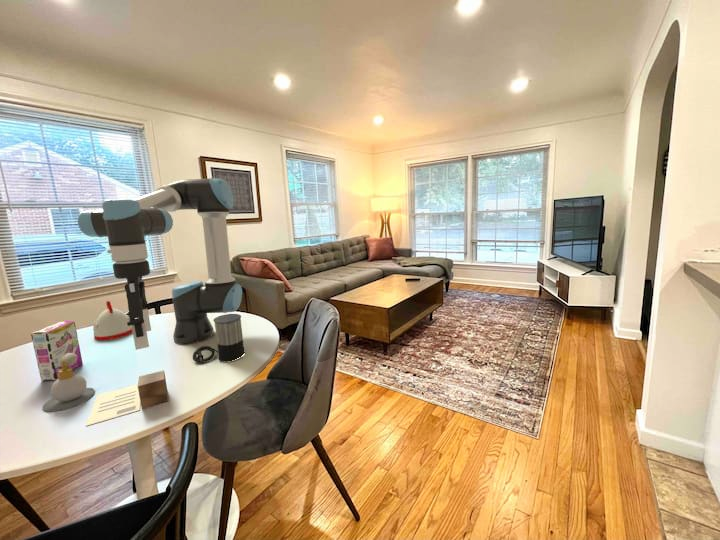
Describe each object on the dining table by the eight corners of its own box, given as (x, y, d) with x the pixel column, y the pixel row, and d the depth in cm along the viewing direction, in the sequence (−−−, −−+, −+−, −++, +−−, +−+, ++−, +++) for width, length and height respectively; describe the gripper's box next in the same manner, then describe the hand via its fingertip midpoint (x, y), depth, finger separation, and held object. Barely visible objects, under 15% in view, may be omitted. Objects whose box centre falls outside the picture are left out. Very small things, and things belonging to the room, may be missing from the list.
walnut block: (167, 392, 91) (164, 370, 90) (168, 402, 86) (164, 379, 85) (143, 399, 88) (138, 376, 87) (142, 410, 83) (137, 386, 82)
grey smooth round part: (98, 384, 96) (97, 383, 96) (90, 402, 87) (90, 401, 87) (49, 396, 91) (49, 395, 91) (36, 417, 82) (36, 415, 82)
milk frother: (250, 355, 113) (246, 316, 110) (204, 373, 102) (198, 330, 99) (232, 345, 123) (228, 309, 120) (189, 359, 111) (183, 320, 109)
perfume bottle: (56, 410, 84) (46, 368, 81) (49, 397, 90) (40, 359, 87) (91, 396, 89) (83, 357, 87) (83, 385, 95) (75, 349, 93)
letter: (143, 383, 96) (143, 383, 96) (139, 410, 83) (139, 409, 83) (97, 395, 91) (97, 394, 91) (85, 426, 77) (85, 425, 77)
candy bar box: (57, 380, 100) (46, 332, 97) (40, 381, 100) (28, 333, 97) (84, 363, 111) (75, 320, 108) (69, 364, 111) (59, 321, 108)
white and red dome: (130, 326, 149) (124, 295, 146) (136, 333, 139) (131, 300, 136) (92, 335, 139) (85, 302, 136) (96, 343, 129) (89, 308, 127)
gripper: (118, 257, 88) (131, 328, 92) (103, 269, 67) (121, 360, 71) (150, 254, 92) (161, 322, 96) (145, 265, 71) (159, 352, 75)
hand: (144, 339), depth 84 cm, fingers open, 13 cm apart
